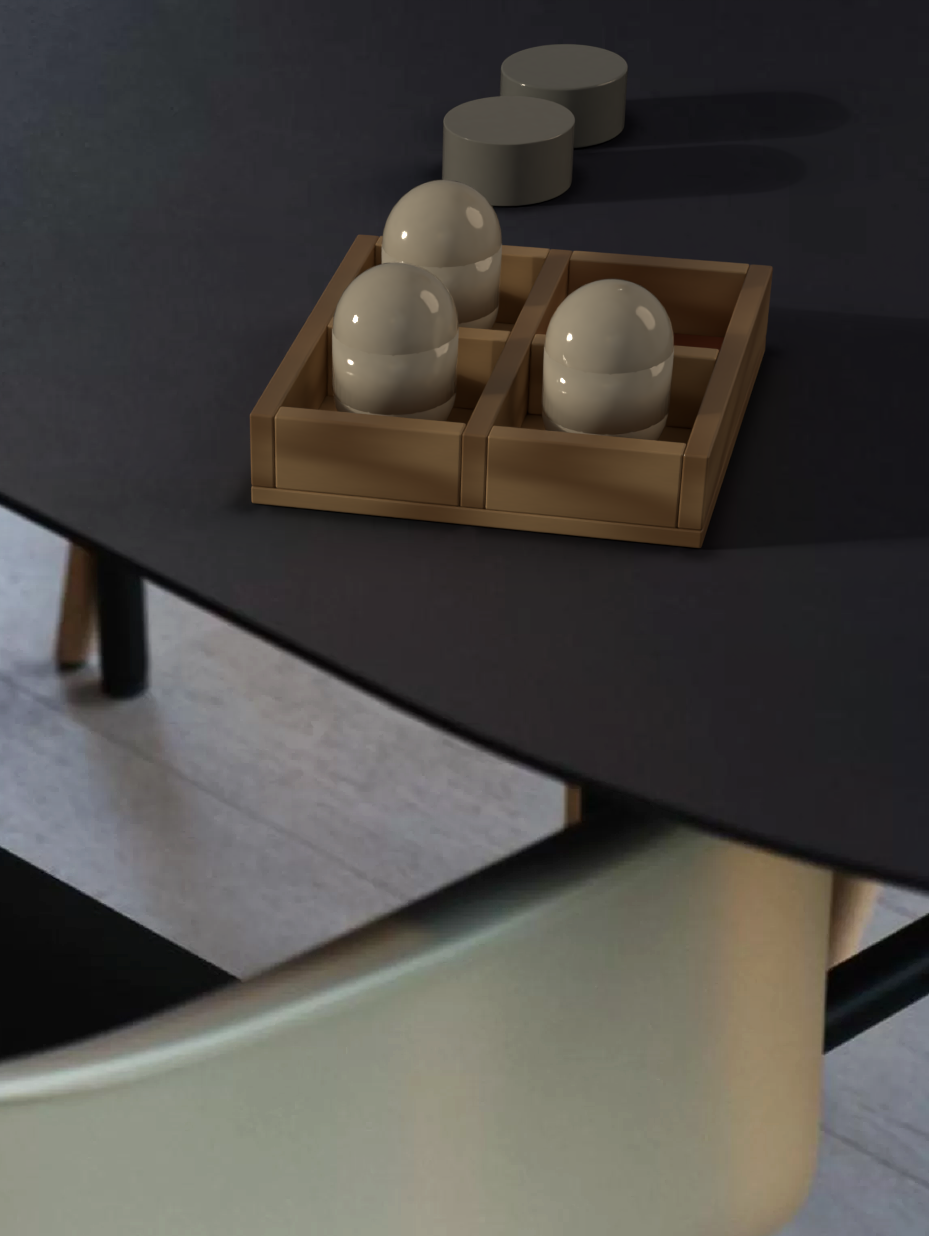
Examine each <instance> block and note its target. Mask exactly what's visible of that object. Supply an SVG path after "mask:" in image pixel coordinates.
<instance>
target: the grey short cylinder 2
mask: <svg viewBox="0 0 929 1236" xmlns="http://www.w3.org/2000/svg"><path fill="white" fill-rule="evenodd" d="M628 74H629V65H628V63H627V61H626V59H625V58H623V57H622V56H621V55H620V54H618V53H616V52H615V51H611V50H608V49H605V48H602V47H597V46H592V45H586V44H575V43H574V44H573V43H562V44H561V43H559V44H545V45H538V46H533V47H529V48H526V49H522V50H520V51H517V52H515V53H512V54H510V55H509V56H507V57H506V58H505V59H504V60H503V62H502V63H501V65H500V76H499V77H500V78H499V79H500V81H499V96H524V97H533V98H540V99H544V100H548V101H552V102H555V103H558V104H560V105H562V106H564V107H566V108H567V109H569V110H570V111H571V112H572V113H573V115H574V118H575V131H574V149H580V148H587V147H593V146H596V145H600V144H604V143H606V142H609V141H611V140H613V139H614V138H616V137H617V136H619V135H620V134H621V133H622V132H623V130H624V128H625V123H626V108H627V90H628Z"/></svg>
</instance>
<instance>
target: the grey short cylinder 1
mask: <svg viewBox="0 0 929 1236" xmlns="http://www.w3.org/2000/svg"><path fill="white" fill-rule="evenodd" d="M574 131H575V118H574V115H573V113H572V112H571V111H570V110H569V109H567V108H566V107H564V106H562V105H560V104H558V103H555V102H552V101H548V100H544V99H540V98H533V97H524V96H500V95H498V96H490V97H489V96H488V97H483V98H478V99H477V98H476V99H473V100H469V101H466V102H463V103H460V104H458V105H457V106H454V107H453V108H451V109H449V110H448V111H447V113H446V114H445V115H444V117H443V121H442V161H441V180H454V181H458V182H461V183H464V184H467V185H469V186H471V187H473V188H474V189H475V190H477V191H478V192H480V193H481V194H482V195H483V196H484V197H485V198H486V199H487V200H488V202H489V203H490V204H491V205H492V207H518V206H520V207H521V206H528V205H535V204H539V203H543V202H546V201H550V200H553V199H556V198H558V197H560V196H561V195H563V194H564V193H566V192H567V191H568V190H569V188H571V185H572V182H573V167H574V166H573V165H574V151H575V150H574V149H575V148H574Z"/></svg>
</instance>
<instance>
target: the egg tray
mask: <svg viewBox="0 0 929 1236" xmlns="http://www.w3.org/2000/svg"><path fill="white" fill-rule="evenodd" d="M382 236H383V235H380V236H378V235H372V234H358V235H356V237H355V238H354V241H353V242H352V244H351V245H350V247H349V249H348V251H347V252H346V254H345V256H344V257H343V259H342V261H341V262H340V264H339V266H338V267H337V269H336V270H335V272H334V274H333V276H332V277H331V279H330V280H329V282H328V284H327V285H326V287H325V289H324V290H323V292H322V294H321V295H320V297H319V299H318V300H317V302H316V304H315V305H314V307H313V309H312V310H311V312H310V314H309V315H308V317H307V318H306V320H305V322H304V324H303V325H302V327H301V329H300V331H299V332H298V334H297V335H296V337H295V338H294V340H293V341H292V343H291V345H290V347H289V349H288V350H287V352H286V354H285V355H284V357H283V358H282V360H281V362H280V363H279V366H278V367H277V369H276V370H275V372H274V374H273V376H272V377H271V379H270V380H269V382H268V383H267V385H266V387H265V388H264V390H263V392H262V394H260V397H259V398H258V400H257V401H256V403H255V405H254V407H253V408H252V410H251V411H250V414H249V439H250V440H249V441H250V442H249V444H250V445H249V446H250V478H251V479H250V482H251V488H250V489H251V490H250V493H251V495H250V496H251V497H250V498H251V503H252V504H257V505H266V506H275V507H276V506H277V507H285V508H286V507H287V508H296V509H306V510H317V511H326V512H335V513H336V512H337V513H346V514H354V515H355V514H357V515H365V516H377V517H386V518H396V519H404V520H405V519H406V520H416V521H425V522H426V521H427V522H436V523H444V524H445V523H446V524H456V525H463V526H464V525H465V526H473V527H475V526H476V527H485V528H493V529H495V528H496V529H505V530H514V531H515V530H516V531H525V532H535V533H545V534H556V535H565V536H575V537H583V538H584V537H585V538H593V539H594V538H595V539H604V540H614V541H624V542H634V543H645V544H652V545H653V544H654V545H663V546H672V547H673V546H674V547H684V548H693V549H701V548H702V546H703V544H704V540H705V537H706V534H707V531H708V528H709V525H710V521H711V519H712V516H713V512H714V509H715V506H716V503H717V500H718V497H719V494H720V491H721V487H722V485H723V483H724V479H725V476H726V472H727V469H728V466H729V463H730V460H731V457H732V454H733V451H734V447H735V444H736V441H737V438H738V435H739V432H740V429H741V426H742V422H743V420H744V417H745V414H746V410H747V407H748V404H749V401H750V398H751V394H752V391H753V389H754V385H755V383H756V380H757V376H758V374H759V370H760V367H761V364H762V361H763V359H764V358H763V357H764V354H765V352H766V342H767V332H768V323H769V312H770V303H771V291H772V282H773V273H774V267H773V266H771V265H765V264H749V263H744V262H743V263H742V262H728V261H718V260H717V261H716V260H702V259H691V258H676V257H675V258H674V257H662V256H650V255H639V254H637V255H636V254H623V253H609V252H597V251H583V250H568V249H556V248H555V249H554V248H551V249H550V248H545V247H533V246H518V245H505V244H502V258H501V285H500V304H499V311H498V315H497V318H496V321H495V324H494V326H493V328H492V330H489V329H477V328H465V327H459V336H458V372H457V392H456V399H455V403H454V406H453V409H452V412H451V415H450V416H449V418H448V419H447V421H435V420H424V419H413V418H402V417H391V416H381V415H370V414H359V413H348V412H337V411H336V408H335V405H334V398H333V390H332V326H333V316H334V313H335V310H336V307H337V304H338V301H339V299H340V297H341V295H342V293H343V292H344V290H345V289H346V288H347V286H348V285H349V284H350V283H351V282H352V281H353V280H354V279H355V278H356V277H357V276H359V275H360V274H361V273H363V272H364V271H366V270H367V269H369V268H371V267H374V266H377V265H380V264H382ZM602 279H623V280H627V281H630V282H633V283H636V284H639V285H641V286H642V287H644V288H645V289H647V290H648V291H649V292H651V293H652V294H654V295H655V297H656V298H657V299H658V300H659V301H660V303H661V304H662V305H663V306H664V308H665V310H666V312H667V314H668V316H669V318H670V321H671V324H672V328H673V332H674V357H673V369H672V382H671V395H670V408H669V413H668V418H667V423H666V426H665V428H664V430H663V433H662V435H661V437H660V438H659V440H658V441H656V440H645V439H634V438H623V437H612V436H601V435H590V434H579V433H569V432H558V431H547V430H545V427H544V424H543V420H542V409H541V403H542V382H543V361H544V344H545V338H546V332H547V328H548V325H549V323H550V320H551V317H552V316H553V314H554V313H555V311H556V309H557V308H558V306H559V305H560V304H561V302H562V301H563V300H564V299H565V298H566V297H567V296H568V295H570V294H571V293H572V292H573V291H575V290H577V289H578V288H580V287H581V286H583V285H585V284H588V283H591V282H594V281H598V280H602Z"/></svg>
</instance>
